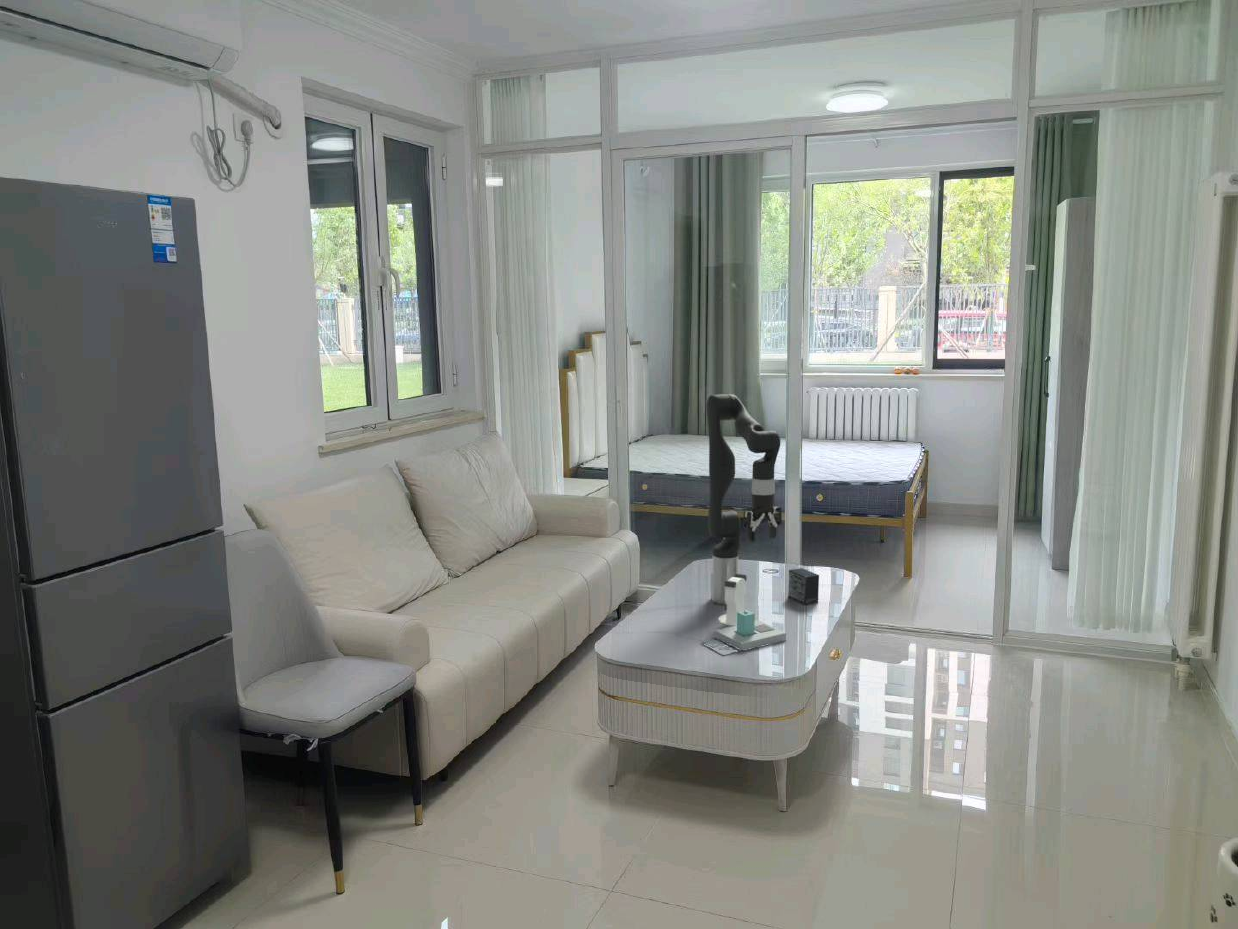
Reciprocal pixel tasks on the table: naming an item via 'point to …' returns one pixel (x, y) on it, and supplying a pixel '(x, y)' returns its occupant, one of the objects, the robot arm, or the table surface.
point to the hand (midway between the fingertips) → (762, 539)
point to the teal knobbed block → (745, 623)
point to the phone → (717, 644)
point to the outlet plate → (751, 636)
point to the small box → (803, 586)
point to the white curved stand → (734, 599)
